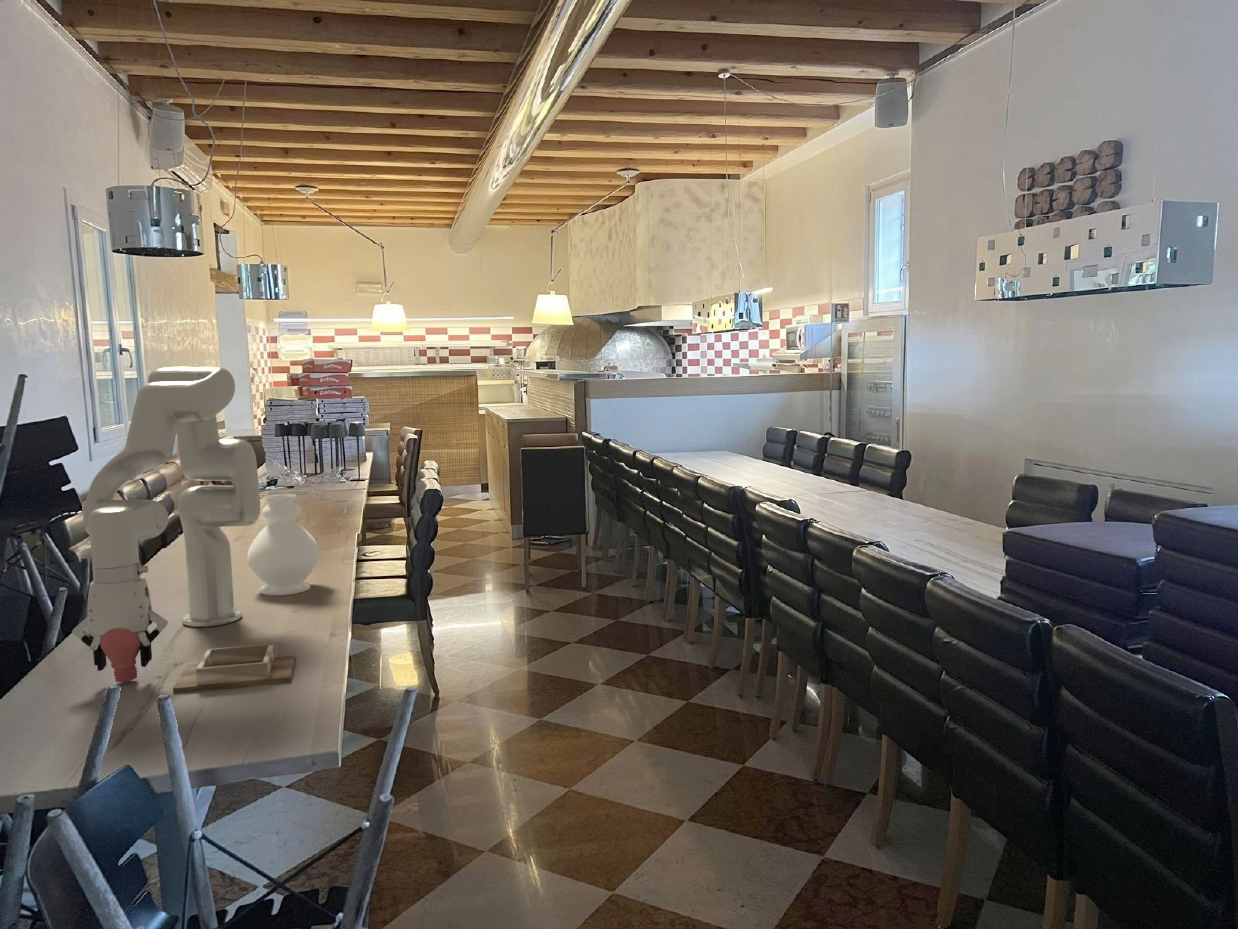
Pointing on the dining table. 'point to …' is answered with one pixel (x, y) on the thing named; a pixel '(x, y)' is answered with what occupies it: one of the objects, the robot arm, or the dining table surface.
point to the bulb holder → (236, 669)
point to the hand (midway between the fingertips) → (123, 665)
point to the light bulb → (121, 652)
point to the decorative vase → (283, 549)
